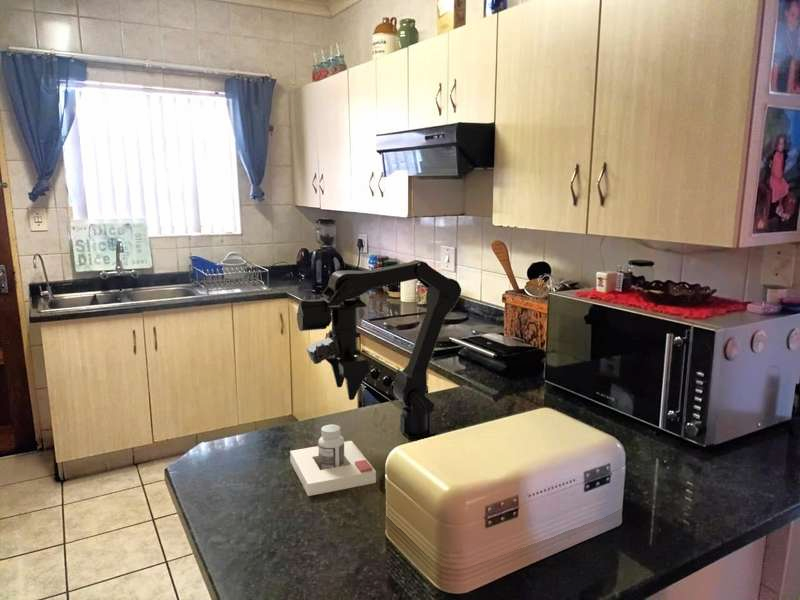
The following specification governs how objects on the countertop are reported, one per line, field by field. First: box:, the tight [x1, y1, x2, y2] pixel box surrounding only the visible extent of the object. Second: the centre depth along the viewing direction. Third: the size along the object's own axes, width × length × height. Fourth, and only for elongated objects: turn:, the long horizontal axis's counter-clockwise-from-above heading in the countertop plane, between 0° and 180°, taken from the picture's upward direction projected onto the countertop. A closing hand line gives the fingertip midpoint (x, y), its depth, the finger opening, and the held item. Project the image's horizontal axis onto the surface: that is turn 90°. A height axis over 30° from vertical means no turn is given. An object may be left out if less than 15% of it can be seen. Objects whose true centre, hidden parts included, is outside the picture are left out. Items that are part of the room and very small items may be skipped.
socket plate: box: [289, 440, 377, 497], centre depth 122 cm, size 14×16×3 cm
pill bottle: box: [317, 424, 345, 470], centre depth 122 cm, size 5×5×10 cm
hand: (345, 393), depth 134 cm, fingers open, 9 cm apart
